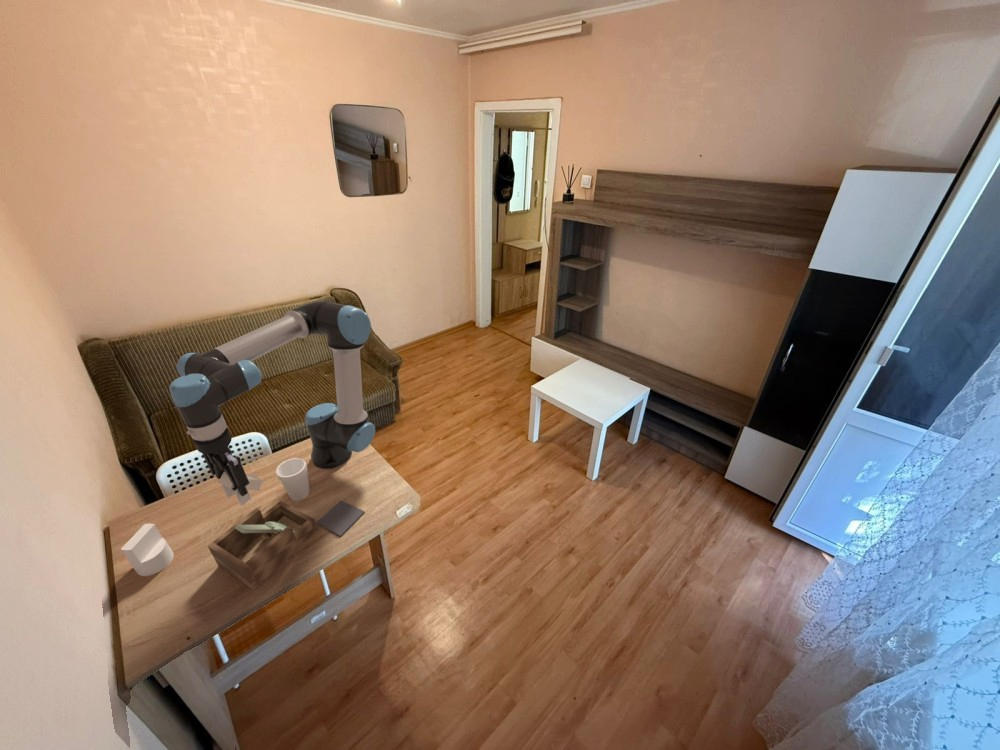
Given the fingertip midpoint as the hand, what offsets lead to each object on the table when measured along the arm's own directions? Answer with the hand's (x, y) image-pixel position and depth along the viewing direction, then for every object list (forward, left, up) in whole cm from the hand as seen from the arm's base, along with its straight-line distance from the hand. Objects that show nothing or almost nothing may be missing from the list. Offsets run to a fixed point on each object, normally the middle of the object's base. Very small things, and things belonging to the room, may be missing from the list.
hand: (239, 497), depth 113 cm
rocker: (-3, 0, -17) cm, 17 cm away
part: (-1, 0, +3) cm, 4 cm away
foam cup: (-22, -10, -25) cm, 35 cm away
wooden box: (-2, 0, -25) cm, 25 cm away
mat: (-21, +11, -25) cm, 34 cm away
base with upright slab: (+17, -26, -25) cm, 40 cm away
